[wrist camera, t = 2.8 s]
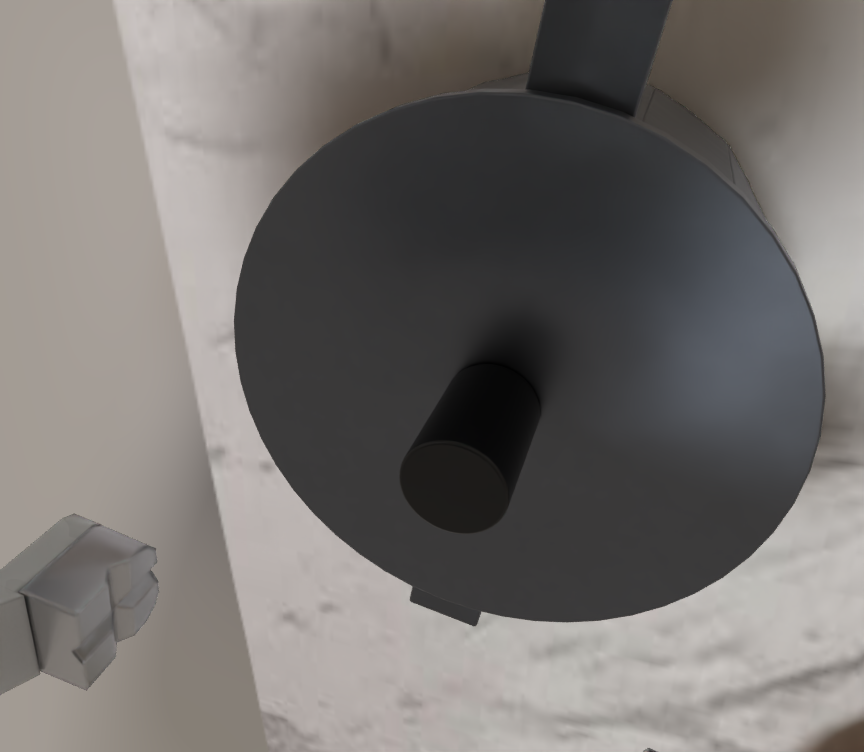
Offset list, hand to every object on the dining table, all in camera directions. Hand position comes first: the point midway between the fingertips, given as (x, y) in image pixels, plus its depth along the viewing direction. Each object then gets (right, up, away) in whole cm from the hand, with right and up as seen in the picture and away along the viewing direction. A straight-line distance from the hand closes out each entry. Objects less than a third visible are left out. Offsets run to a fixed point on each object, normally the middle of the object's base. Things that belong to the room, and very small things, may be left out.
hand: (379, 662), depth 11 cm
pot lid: (+3, +4, +7) cm, 9 cm away
